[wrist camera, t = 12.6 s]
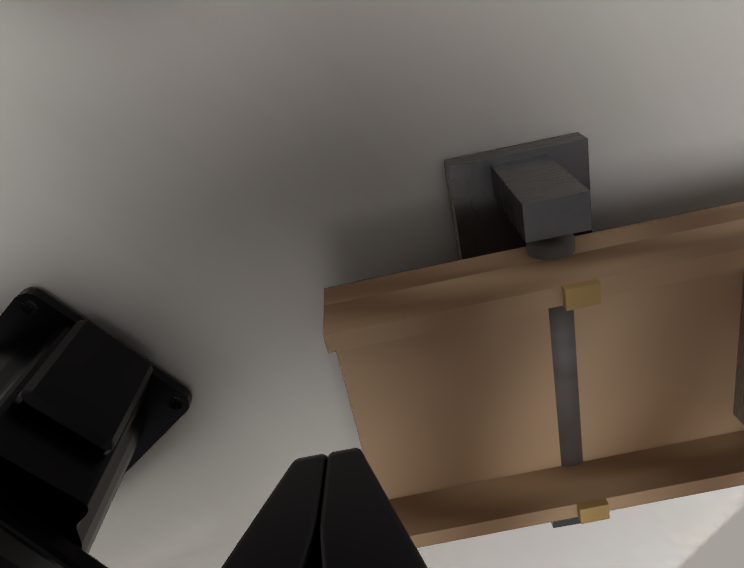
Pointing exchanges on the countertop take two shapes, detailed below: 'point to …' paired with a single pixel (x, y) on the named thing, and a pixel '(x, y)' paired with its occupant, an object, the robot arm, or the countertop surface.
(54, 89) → the countertop surface
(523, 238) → the stand
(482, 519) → the beam
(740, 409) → the steel block
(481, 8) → the countertop surface
